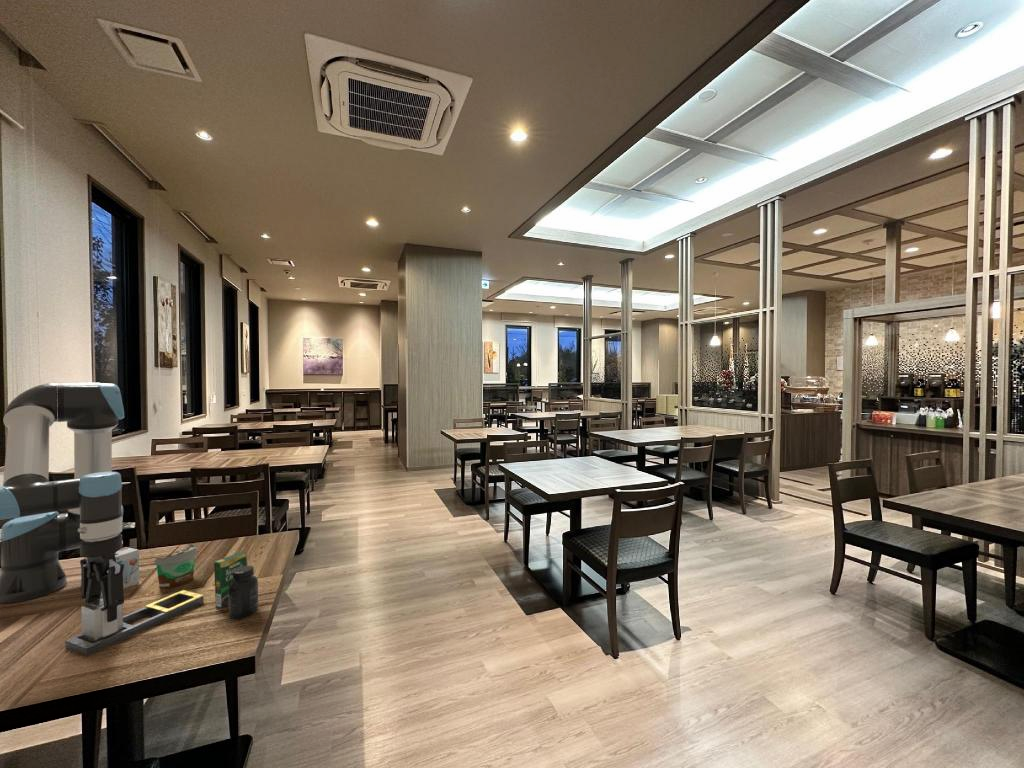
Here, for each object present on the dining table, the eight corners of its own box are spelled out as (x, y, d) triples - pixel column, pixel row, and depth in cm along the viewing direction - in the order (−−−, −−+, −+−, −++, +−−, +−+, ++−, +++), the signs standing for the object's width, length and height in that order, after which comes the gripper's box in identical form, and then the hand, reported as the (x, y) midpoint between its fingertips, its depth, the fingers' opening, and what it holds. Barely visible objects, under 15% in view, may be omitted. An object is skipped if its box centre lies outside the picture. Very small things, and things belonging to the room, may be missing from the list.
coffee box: (220, 610, 119) (220, 562, 119) (214, 608, 120) (213, 561, 120) (248, 596, 126) (248, 552, 126) (242, 594, 127) (241, 550, 127)
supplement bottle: (254, 604, 122) (253, 561, 122) (261, 612, 117) (261, 568, 117) (225, 613, 117) (225, 569, 117) (232, 623, 112) (232, 577, 112)
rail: (65, 647, 102) (65, 639, 102) (183, 597, 126) (183, 590, 126) (86, 656, 99) (86, 647, 99) (203, 602, 123) (203, 595, 123)
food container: (171, 593, 129) (170, 559, 129) (154, 591, 130) (154, 558, 130) (207, 575, 141) (207, 544, 141) (192, 573, 143) (191, 543, 143)
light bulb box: (99, 598, 126) (98, 562, 126) (84, 595, 128) (84, 559, 129) (140, 582, 136) (140, 548, 136) (126, 579, 139) (126, 546, 139)
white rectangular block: (81, 643, 104) (81, 605, 104) (110, 631, 109) (109, 595, 109) (94, 648, 102) (94, 609, 102) (122, 635, 107) (122, 598, 107)
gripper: (60, 537, 105) (61, 631, 105) (104, 546, 98) (105, 648, 98) (99, 527, 112) (100, 616, 112) (142, 536, 105) (143, 630, 105)
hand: (102, 630), depth 105 cm, fingers closed on white rectangular block, 5 cm apart
